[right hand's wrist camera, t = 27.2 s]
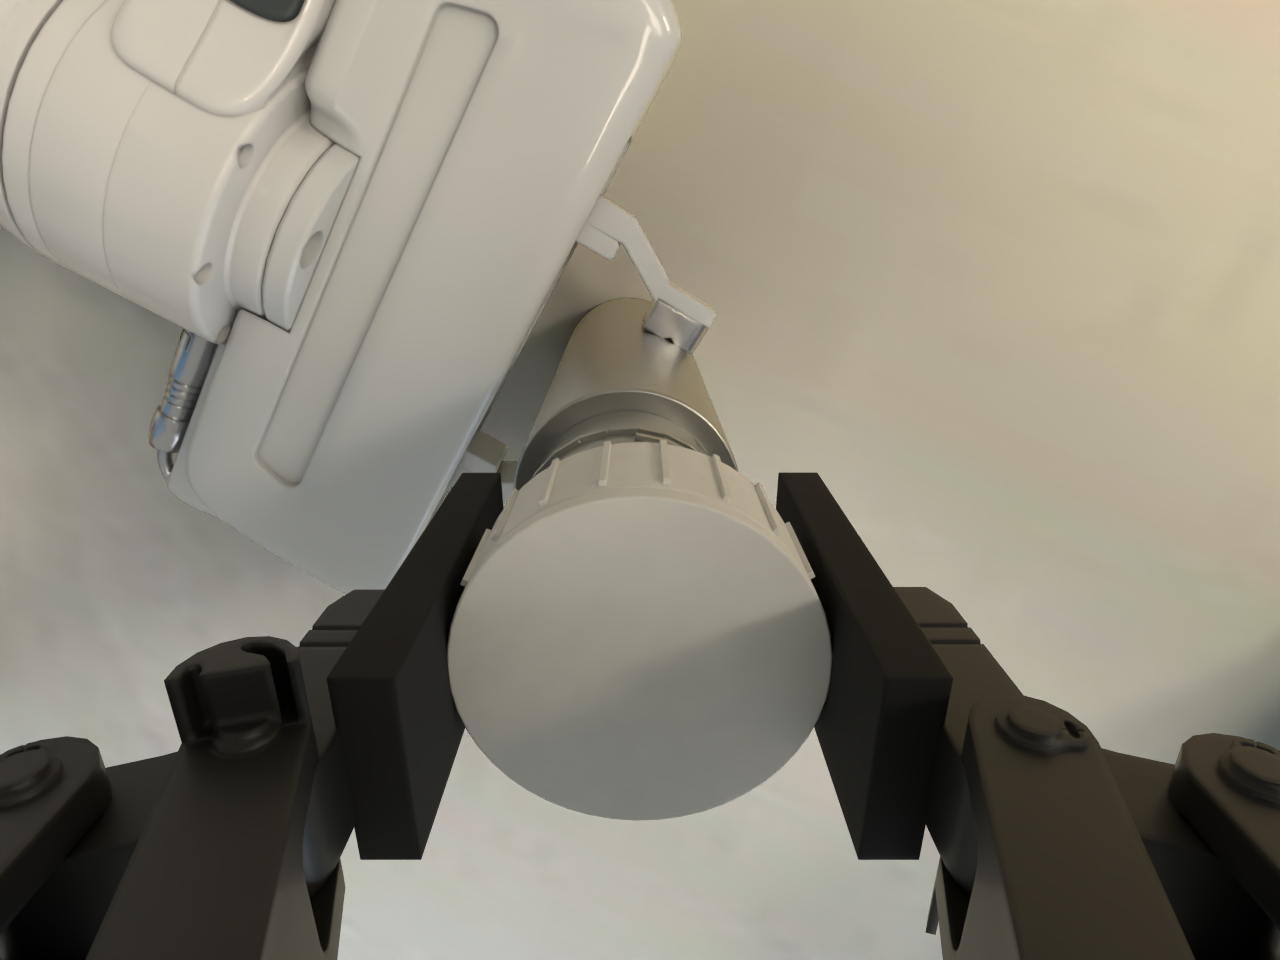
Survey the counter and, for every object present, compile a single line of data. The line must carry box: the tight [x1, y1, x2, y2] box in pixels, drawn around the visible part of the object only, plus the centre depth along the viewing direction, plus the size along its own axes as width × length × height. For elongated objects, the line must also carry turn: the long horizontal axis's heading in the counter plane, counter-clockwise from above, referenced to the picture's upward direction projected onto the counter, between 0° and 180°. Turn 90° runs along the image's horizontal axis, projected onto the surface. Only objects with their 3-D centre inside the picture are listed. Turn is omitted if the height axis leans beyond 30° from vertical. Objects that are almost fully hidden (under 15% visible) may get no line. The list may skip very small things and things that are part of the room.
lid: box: [447, 440, 832, 820], centre depth 11 cm, size 6×6×2 cm
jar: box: [513, 298, 738, 491], centre depth 21 cm, size 5×5×16 cm
